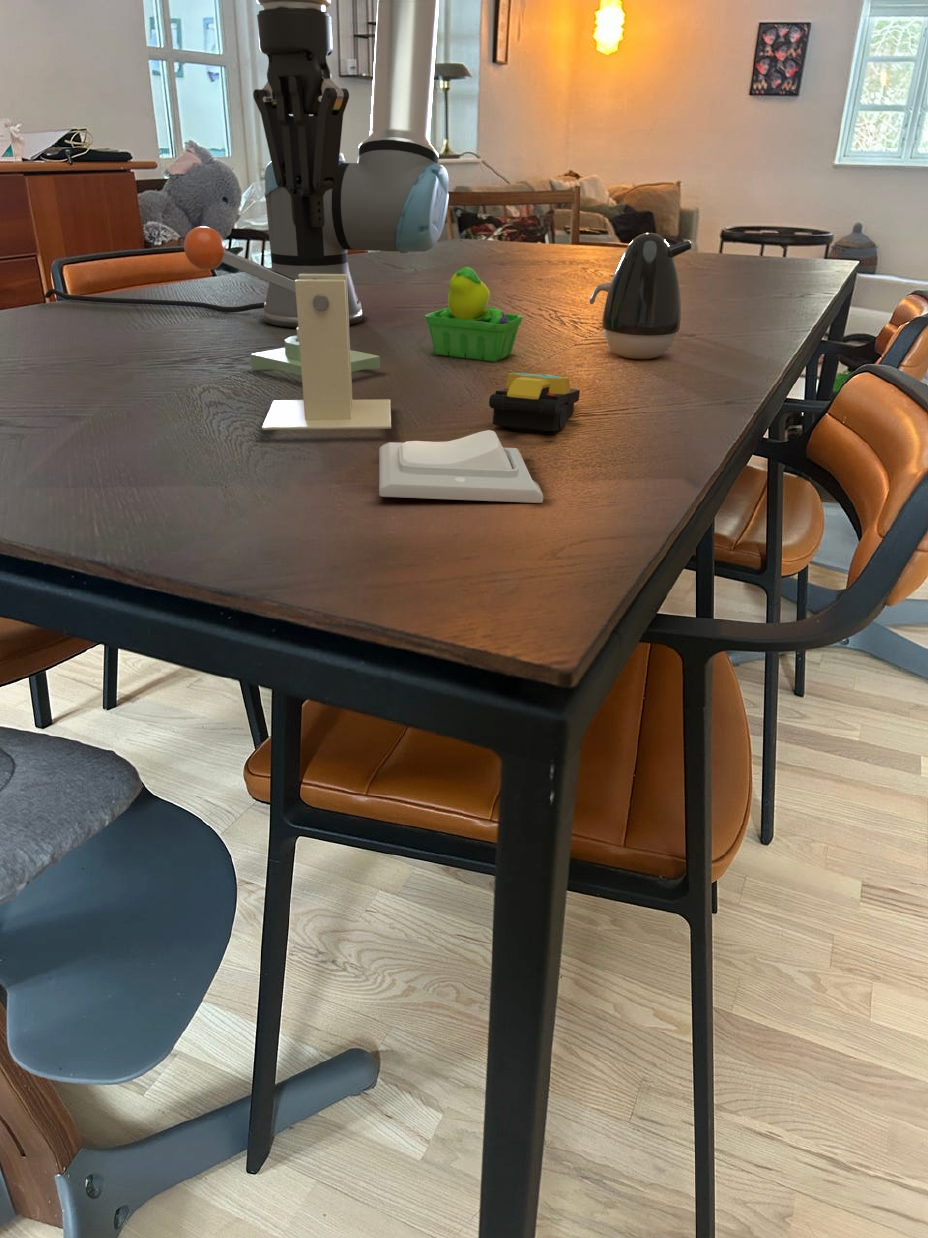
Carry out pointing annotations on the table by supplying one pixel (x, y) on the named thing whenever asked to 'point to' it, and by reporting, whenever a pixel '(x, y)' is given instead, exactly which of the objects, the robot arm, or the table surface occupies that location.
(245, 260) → the lever
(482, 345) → the fruit basket
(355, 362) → the button block
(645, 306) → the pump dispenser
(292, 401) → the bracket
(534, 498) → the light switch
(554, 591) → the table surface
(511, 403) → the gadget
